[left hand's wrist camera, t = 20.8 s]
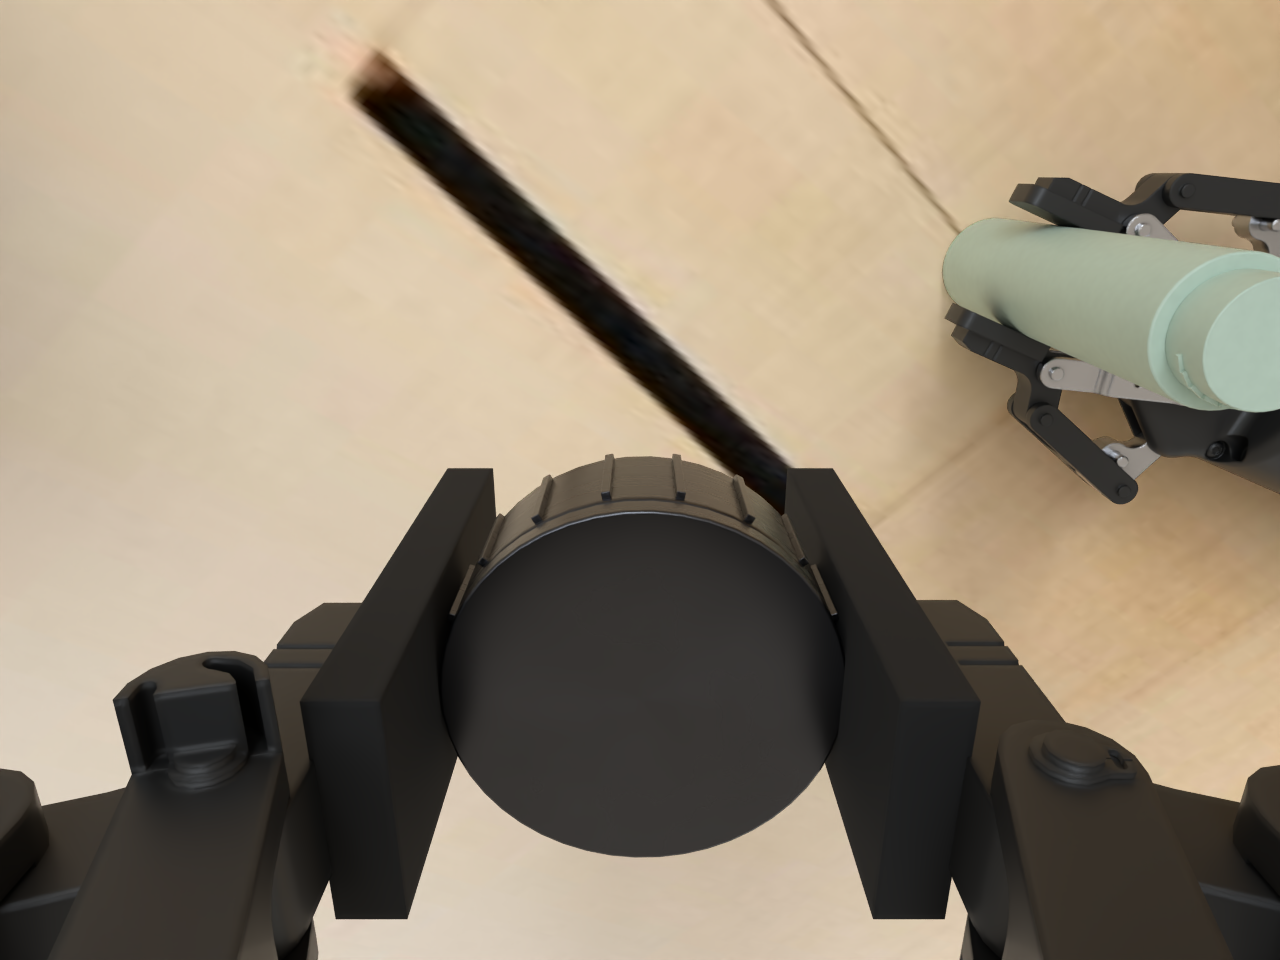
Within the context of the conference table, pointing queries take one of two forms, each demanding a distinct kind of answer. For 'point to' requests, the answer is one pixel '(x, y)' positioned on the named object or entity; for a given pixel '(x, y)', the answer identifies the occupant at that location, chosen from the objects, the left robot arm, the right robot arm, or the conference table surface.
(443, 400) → the conference table surface
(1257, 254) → the pale green bottle
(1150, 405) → the right robot arm
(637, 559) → the lid
